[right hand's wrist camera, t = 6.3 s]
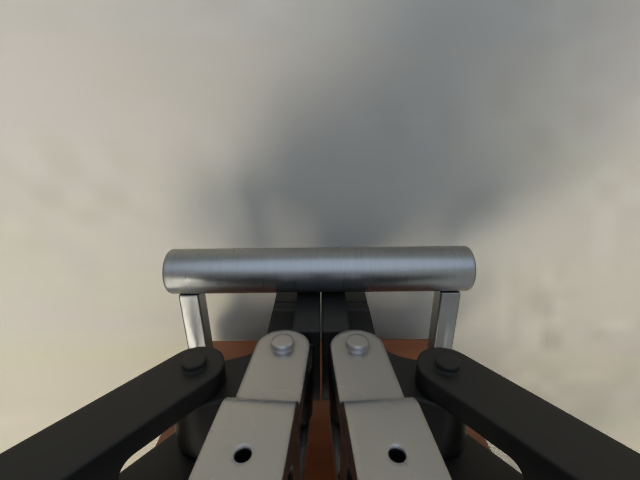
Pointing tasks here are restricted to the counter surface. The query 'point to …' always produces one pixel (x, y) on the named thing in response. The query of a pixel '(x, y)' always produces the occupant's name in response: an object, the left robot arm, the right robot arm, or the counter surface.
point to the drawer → (320, 276)
